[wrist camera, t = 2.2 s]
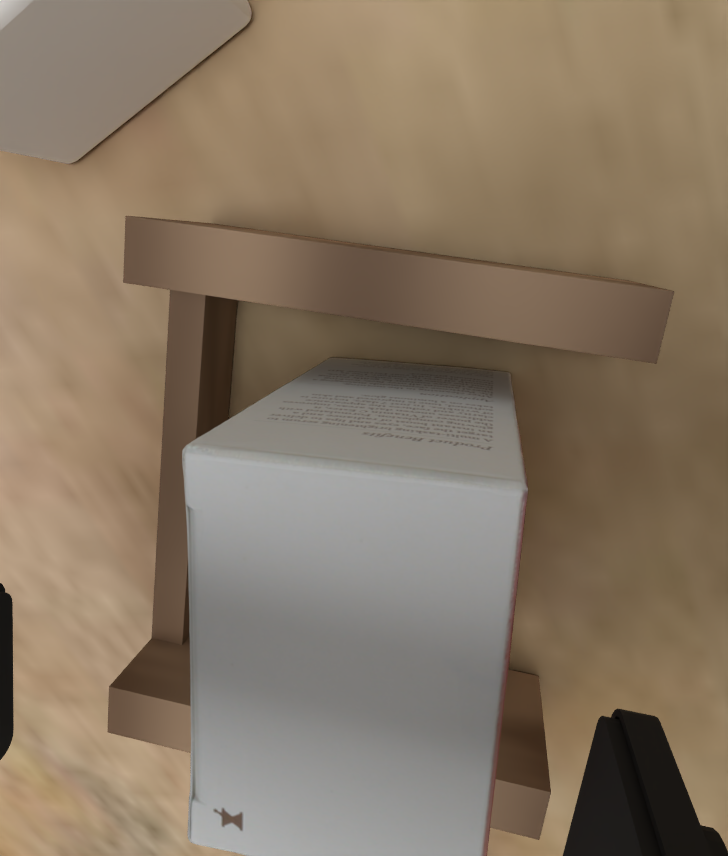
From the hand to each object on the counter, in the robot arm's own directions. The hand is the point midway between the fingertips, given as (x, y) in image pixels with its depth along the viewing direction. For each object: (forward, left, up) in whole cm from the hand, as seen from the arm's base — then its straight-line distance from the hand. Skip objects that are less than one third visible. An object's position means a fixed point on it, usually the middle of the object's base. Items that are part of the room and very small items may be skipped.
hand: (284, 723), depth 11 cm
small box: (-1, 0, -12) cm, 12 cm away
